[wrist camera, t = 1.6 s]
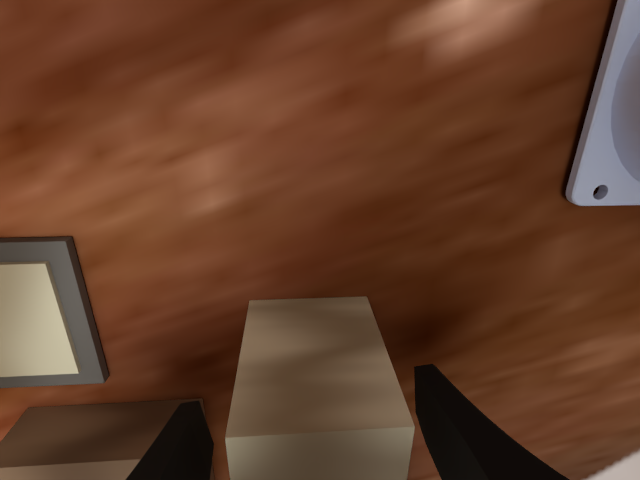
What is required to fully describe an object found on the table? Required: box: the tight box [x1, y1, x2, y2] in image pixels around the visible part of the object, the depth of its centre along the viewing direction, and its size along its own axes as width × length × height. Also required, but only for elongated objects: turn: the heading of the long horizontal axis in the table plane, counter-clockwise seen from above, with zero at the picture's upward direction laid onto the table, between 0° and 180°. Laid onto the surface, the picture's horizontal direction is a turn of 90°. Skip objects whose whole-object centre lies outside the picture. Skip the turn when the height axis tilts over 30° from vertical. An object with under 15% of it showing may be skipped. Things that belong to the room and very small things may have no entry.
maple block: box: [225, 296, 415, 480], centre depth 12 cm, size 4×4×6 cm
